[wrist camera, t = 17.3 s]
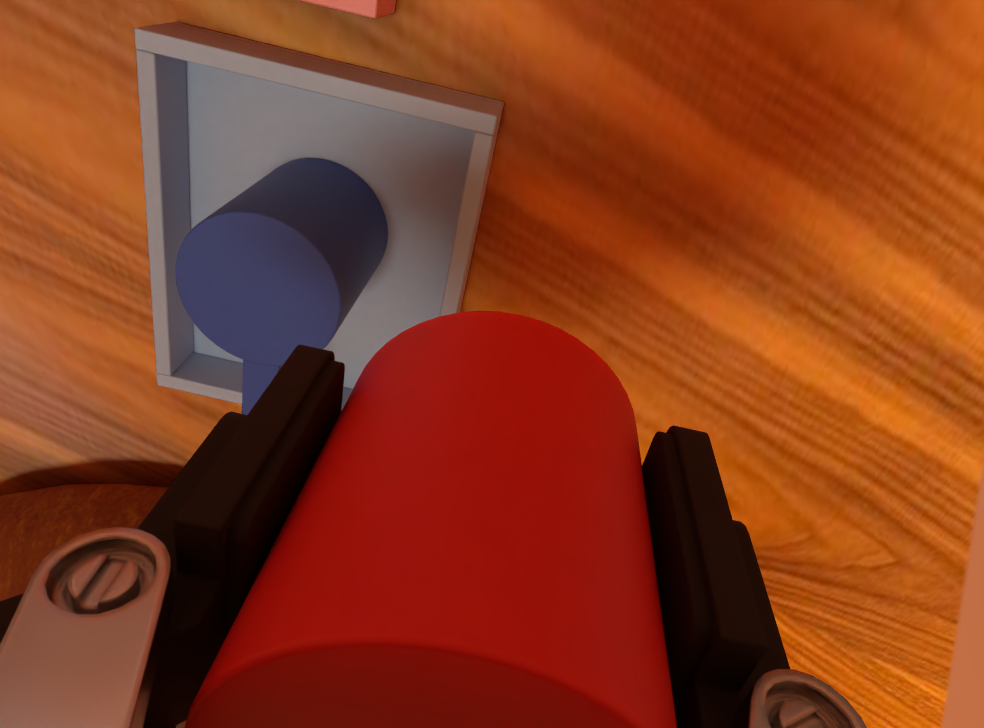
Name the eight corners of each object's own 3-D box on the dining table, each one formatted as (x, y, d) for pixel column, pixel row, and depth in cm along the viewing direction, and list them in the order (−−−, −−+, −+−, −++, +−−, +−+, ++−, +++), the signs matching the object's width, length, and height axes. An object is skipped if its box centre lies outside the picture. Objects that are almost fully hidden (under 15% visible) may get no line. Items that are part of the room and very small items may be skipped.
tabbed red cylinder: (363, 278, 10) (162, 584, 5) (677, 347, 10) (776, 714, 5) (333, 593, 14) (200, 945, 9) (561, 642, 14) (555, 1017, 9)
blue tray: (175, 21, 22) (133, 27, 20) (504, 101, 23) (497, 116, 20) (186, 354, 29) (156, 385, 27) (438, 413, 29) (428, 448, 27)
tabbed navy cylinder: (257, 142, 24) (170, 193, 18) (396, 175, 24) (348, 235, 19) (252, 326, 27) (179, 409, 22) (372, 354, 28) (327, 443, 22)
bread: (427, 620, 37) (369, 889, 26) (109, 783, 50) (-16, 1006, 39) (101, 354, 30) (-159, 573, 19) (-170, 625, 43) (-414, 845, 32)
